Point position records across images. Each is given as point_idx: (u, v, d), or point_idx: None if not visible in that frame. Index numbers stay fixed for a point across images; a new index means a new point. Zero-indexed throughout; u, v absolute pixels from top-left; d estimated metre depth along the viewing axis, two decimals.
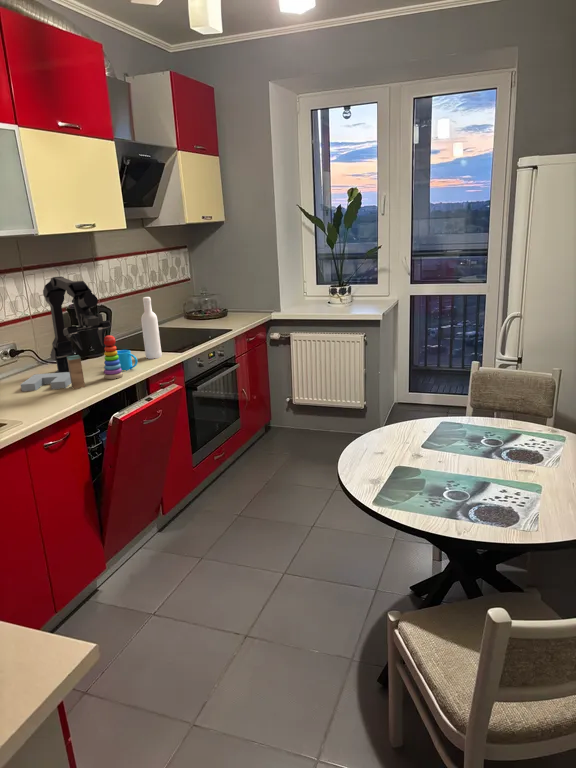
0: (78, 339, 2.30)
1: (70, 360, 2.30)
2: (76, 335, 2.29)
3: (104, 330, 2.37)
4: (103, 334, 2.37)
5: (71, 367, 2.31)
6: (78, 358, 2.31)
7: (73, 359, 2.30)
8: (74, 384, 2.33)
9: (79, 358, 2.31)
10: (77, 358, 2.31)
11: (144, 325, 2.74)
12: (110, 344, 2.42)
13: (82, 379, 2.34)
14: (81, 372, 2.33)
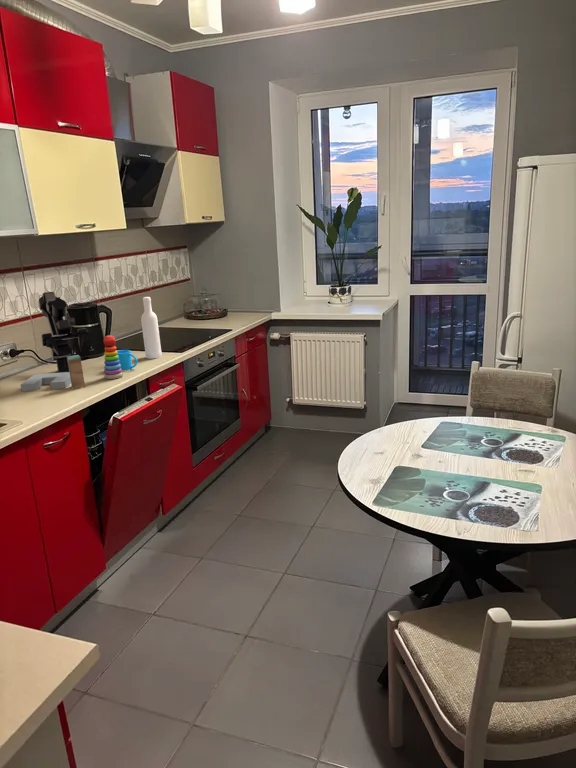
0: (53, 344, 2.36)
1: (70, 360, 2.30)
2: (50, 340, 2.36)
3: (81, 336, 2.42)
4: (80, 340, 2.42)
5: (71, 367, 2.31)
6: (78, 358, 2.31)
7: (73, 359, 2.30)
8: (74, 384, 2.33)
9: (79, 358, 2.31)
10: (77, 358, 2.31)
11: (144, 325, 2.74)
12: (110, 344, 2.42)
13: (82, 379, 2.34)
14: (81, 372, 2.33)
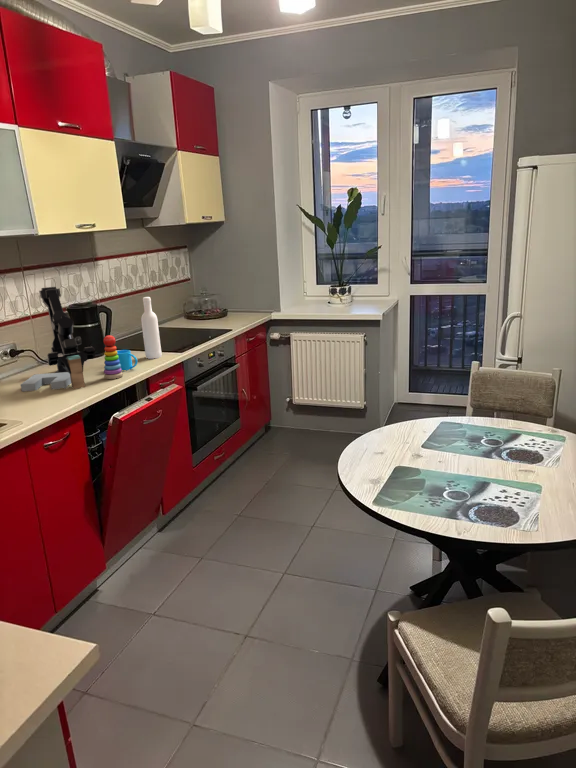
0: (65, 363, 2.32)
1: (70, 360, 2.30)
2: (62, 358, 2.31)
3: (82, 355, 2.35)
4: (82, 360, 2.35)
5: (71, 367, 2.31)
6: (78, 358, 2.31)
7: (73, 359, 2.30)
8: (74, 384, 2.33)
9: (79, 358, 2.31)
10: (77, 358, 2.31)
11: (144, 325, 2.74)
12: (110, 344, 2.42)
13: (82, 379, 2.34)
14: (81, 372, 2.33)
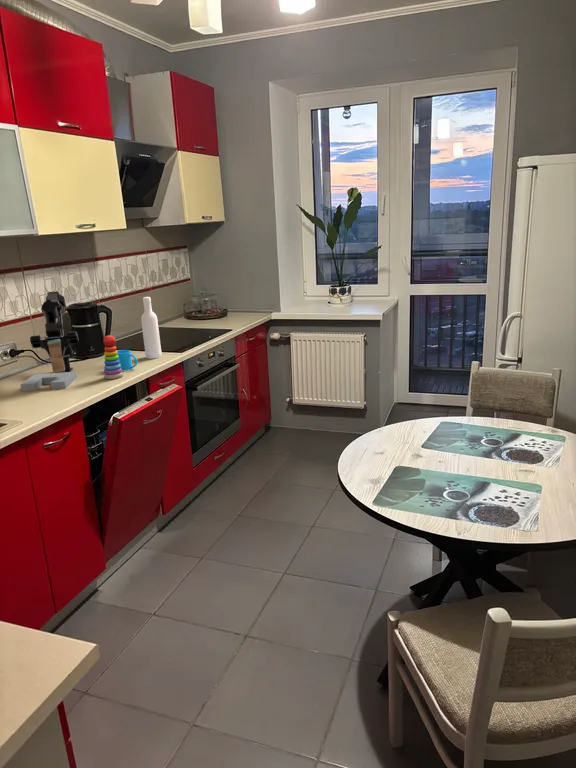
0: (46, 346, 2.36)
1: (49, 344, 2.33)
2: (43, 342, 2.36)
3: (63, 340, 2.38)
4: (63, 344, 2.38)
5: (50, 351, 2.34)
6: (57, 342, 2.34)
7: (52, 343, 2.34)
8: (53, 368, 2.36)
9: (58, 342, 2.34)
10: (56, 342, 2.34)
11: (144, 325, 2.74)
12: (110, 344, 2.42)
13: (61, 363, 2.37)
14: (60, 356, 2.36)
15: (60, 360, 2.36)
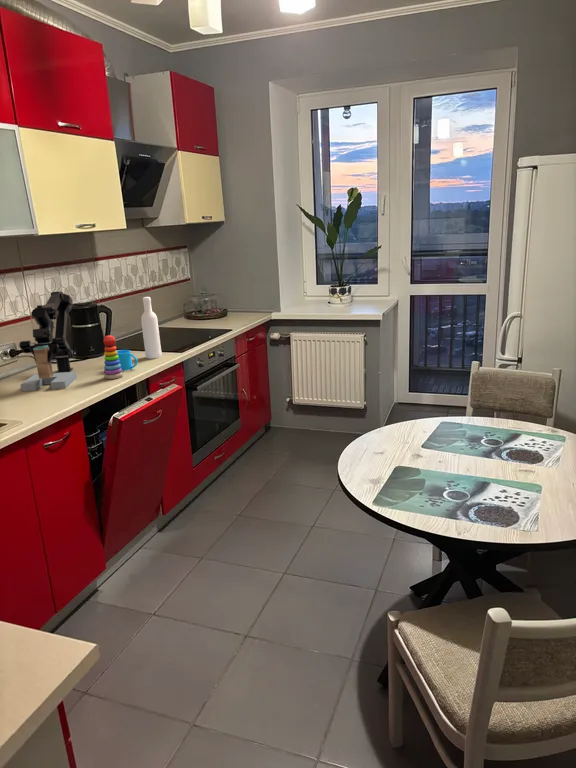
0: None
1: (35, 350, 2.32)
2: (31, 348, 2.35)
3: (51, 346, 2.36)
4: (50, 351, 2.36)
5: (36, 357, 2.33)
6: (42, 349, 2.32)
7: (37, 349, 2.32)
8: (39, 374, 2.35)
9: (43, 349, 2.32)
10: (41, 348, 2.32)
11: (144, 325, 2.74)
12: (110, 344, 2.42)
13: (47, 370, 2.35)
14: (46, 363, 2.34)
15: (45, 367, 2.35)
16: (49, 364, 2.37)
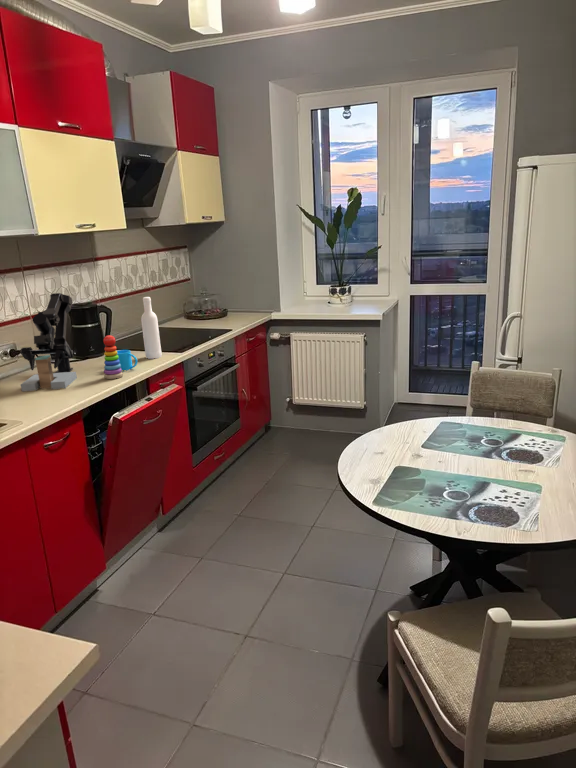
0: (29, 359, 2.36)
1: (36, 360, 2.33)
2: (27, 354, 2.36)
3: (57, 352, 2.37)
4: (56, 357, 2.37)
5: (37, 367, 2.34)
6: (44, 359, 2.33)
7: (39, 359, 2.33)
8: (41, 384, 2.36)
9: (45, 359, 2.33)
10: (43, 358, 2.33)
11: (144, 325, 2.74)
12: (110, 344, 2.42)
13: (48, 380, 2.36)
14: (47, 373, 2.35)
15: (47, 376, 2.36)
16: (51, 374, 2.38)
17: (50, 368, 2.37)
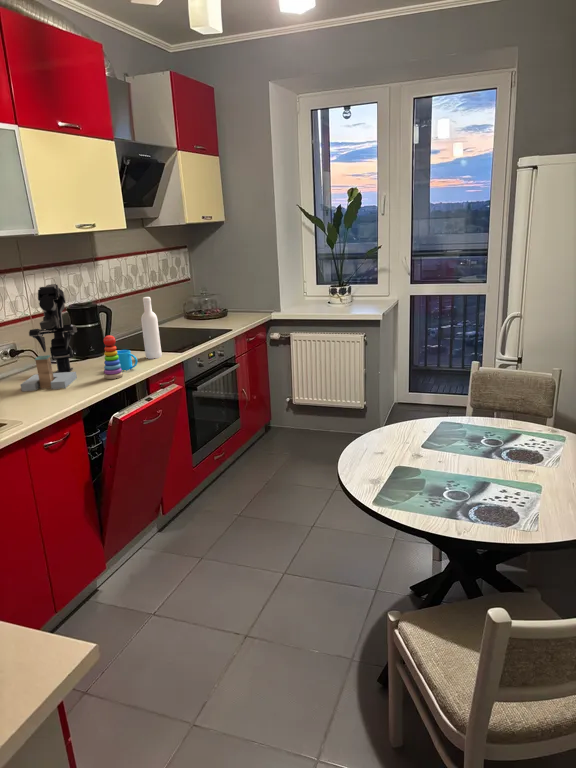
0: (40, 341, 2.41)
1: (36, 360, 2.33)
2: (36, 337, 2.40)
3: (65, 334, 2.41)
4: (65, 338, 2.42)
5: (37, 367, 2.34)
6: (44, 359, 2.33)
7: (39, 359, 2.33)
8: (41, 384, 2.36)
9: (45, 359, 2.33)
10: (43, 358, 2.33)
11: (144, 325, 2.74)
12: (110, 344, 2.42)
13: (49, 380, 2.36)
14: (47, 373, 2.35)
15: (47, 376, 2.36)
16: (51, 374, 2.38)
17: (50, 368, 2.37)
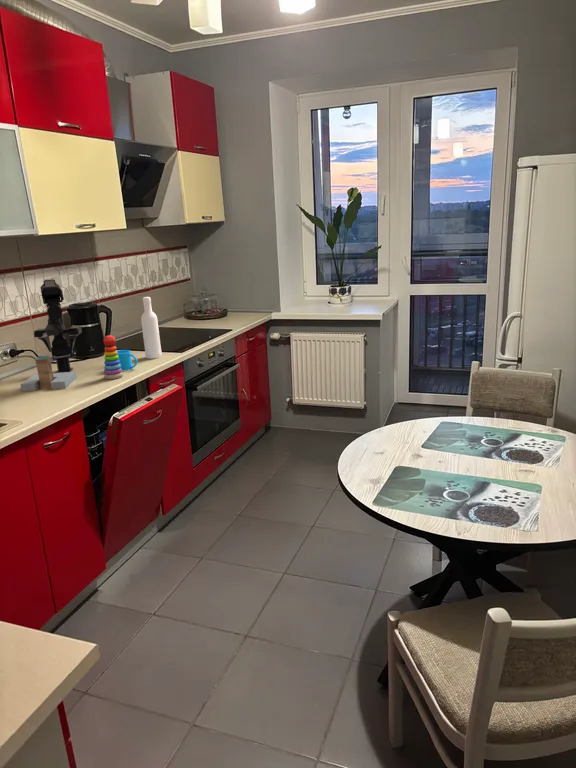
0: (45, 342, 2.41)
1: (36, 360, 2.33)
2: (42, 339, 2.40)
3: (71, 337, 2.41)
4: (71, 340, 2.42)
5: (37, 367, 2.34)
6: (44, 359, 2.33)
7: (39, 359, 2.33)
8: (41, 384, 2.36)
9: (45, 359, 2.33)
10: (43, 358, 2.33)
11: (144, 325, 2.74)
12: (110, 344, 2.42)
13: (48, 379, 2.36)
14: (47, 373, 2.35)
15: (47, 376, 2.36)
16: (51, 374, 2.38)
17: (50, 368, 2.37)
